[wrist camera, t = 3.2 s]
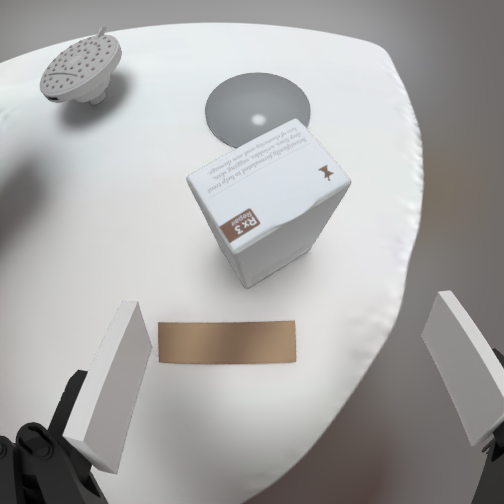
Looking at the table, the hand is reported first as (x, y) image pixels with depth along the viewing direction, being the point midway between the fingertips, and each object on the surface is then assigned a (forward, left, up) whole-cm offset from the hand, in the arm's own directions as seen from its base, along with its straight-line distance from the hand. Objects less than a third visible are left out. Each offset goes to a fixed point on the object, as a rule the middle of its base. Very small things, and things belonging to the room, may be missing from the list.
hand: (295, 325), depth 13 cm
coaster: (-1, +20, -10) cm, 23 cm away
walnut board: (-4, -1, -10) cm, 11 cm away
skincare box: (-1, +6, -10) cm, 12 cm away
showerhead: (-19, +25, -10) cm, 33 cm away
